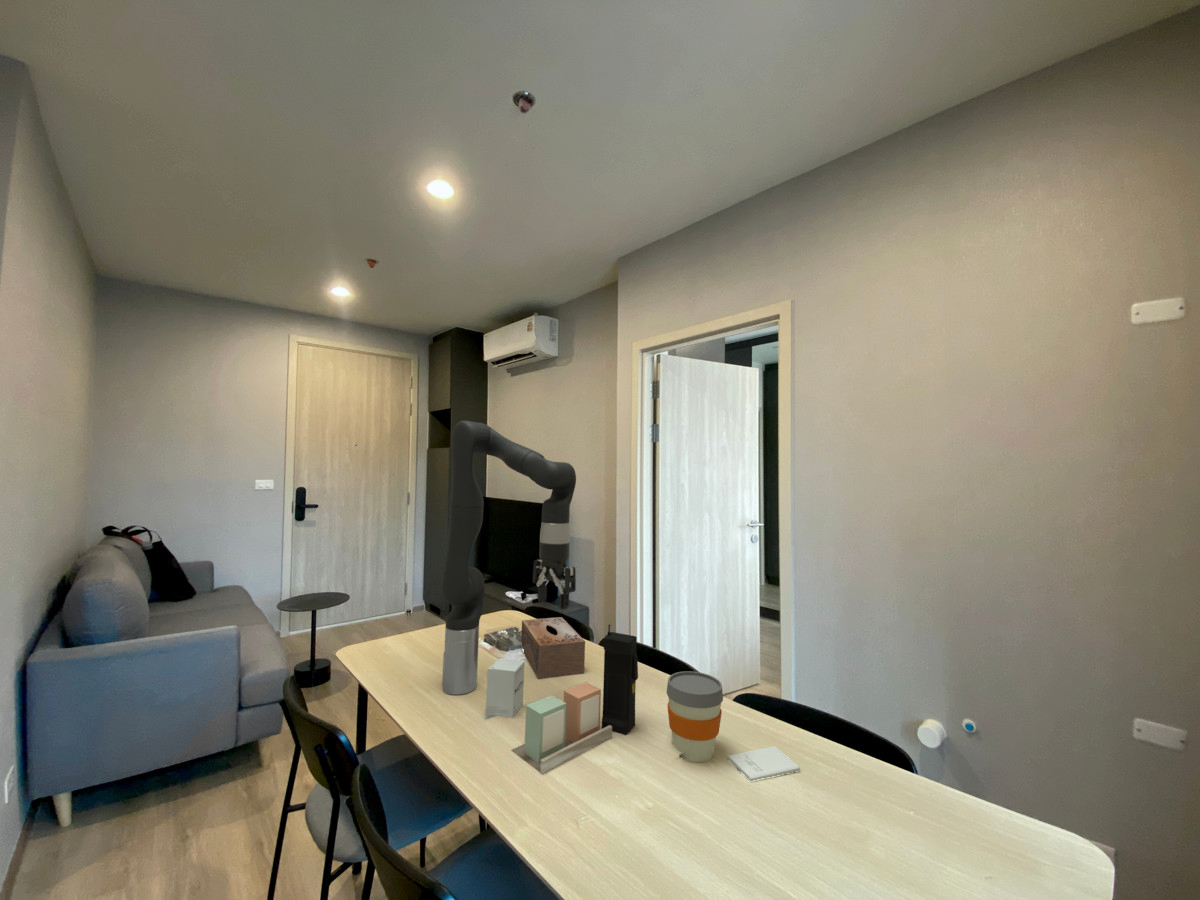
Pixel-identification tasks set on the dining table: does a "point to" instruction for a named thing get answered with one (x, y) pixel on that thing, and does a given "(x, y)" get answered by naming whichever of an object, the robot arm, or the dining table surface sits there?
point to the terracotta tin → (582, 711)
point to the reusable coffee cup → (694, 713)
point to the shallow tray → (566, 750)
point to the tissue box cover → (552, 647)
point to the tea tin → (545, 727)
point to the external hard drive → (763, 763)
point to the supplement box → (504, 688)
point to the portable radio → (619, 682)
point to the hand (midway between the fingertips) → (552, 605)
